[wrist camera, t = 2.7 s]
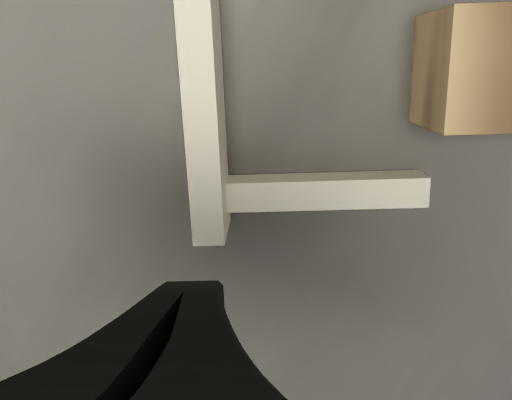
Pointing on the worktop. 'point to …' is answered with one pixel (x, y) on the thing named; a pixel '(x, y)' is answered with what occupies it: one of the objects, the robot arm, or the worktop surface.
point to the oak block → (463, 69)
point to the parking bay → (256, 185)
